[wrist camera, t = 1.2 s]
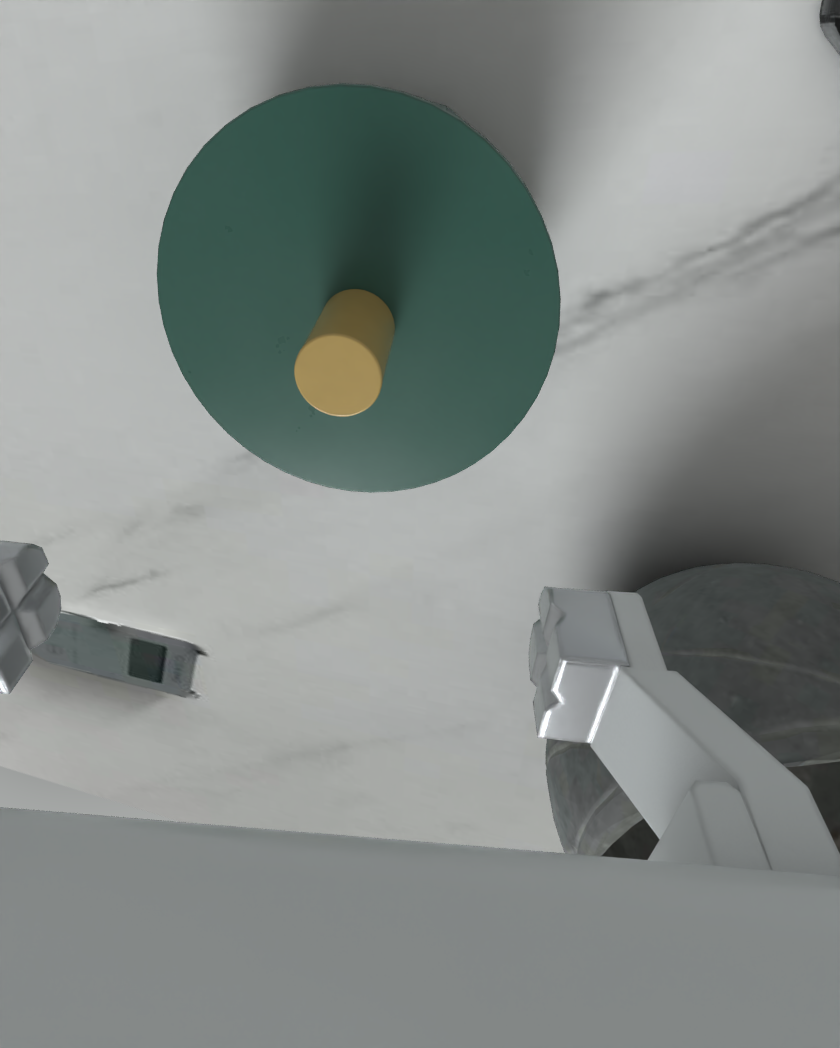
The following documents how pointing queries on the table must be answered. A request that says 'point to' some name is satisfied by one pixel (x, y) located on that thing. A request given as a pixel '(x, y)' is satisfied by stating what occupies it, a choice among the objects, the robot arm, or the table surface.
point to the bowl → (725, 692)
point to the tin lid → (358, 287)
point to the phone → (831, 22)
